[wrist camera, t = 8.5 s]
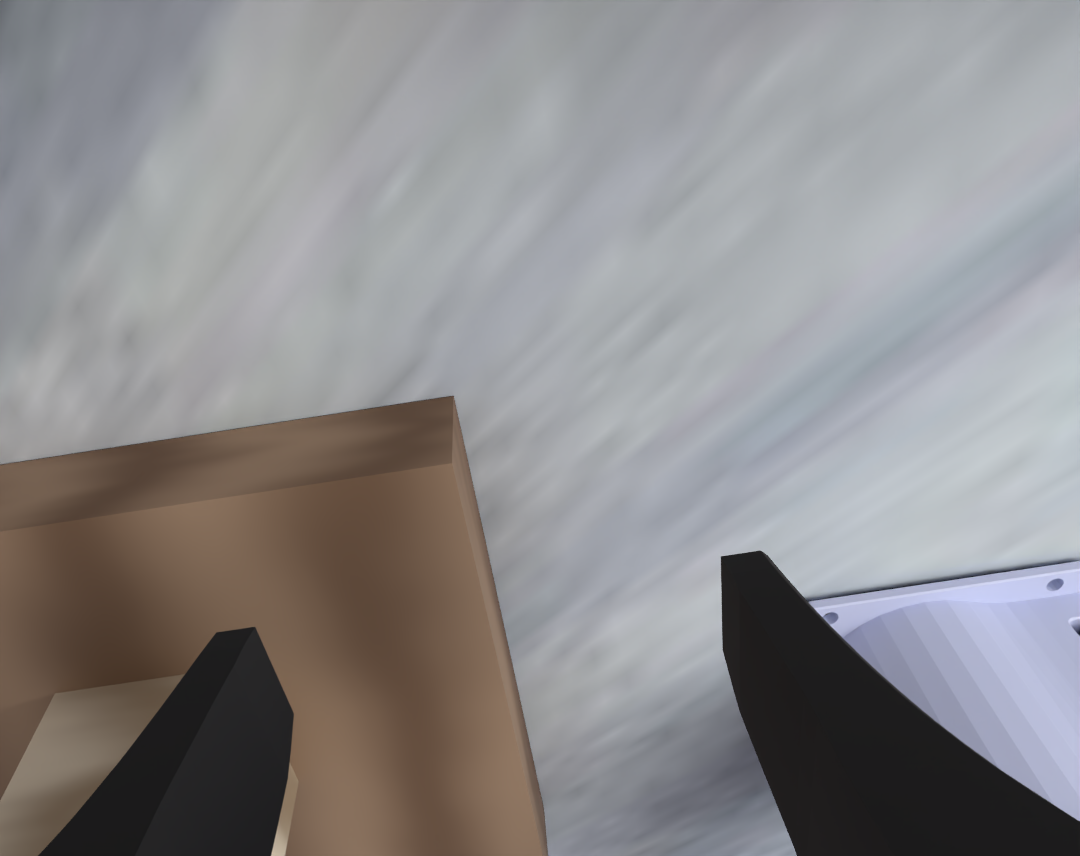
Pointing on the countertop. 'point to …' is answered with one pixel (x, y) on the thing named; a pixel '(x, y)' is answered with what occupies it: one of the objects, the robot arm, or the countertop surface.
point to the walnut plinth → (289, 613)
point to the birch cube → (87, 761)
